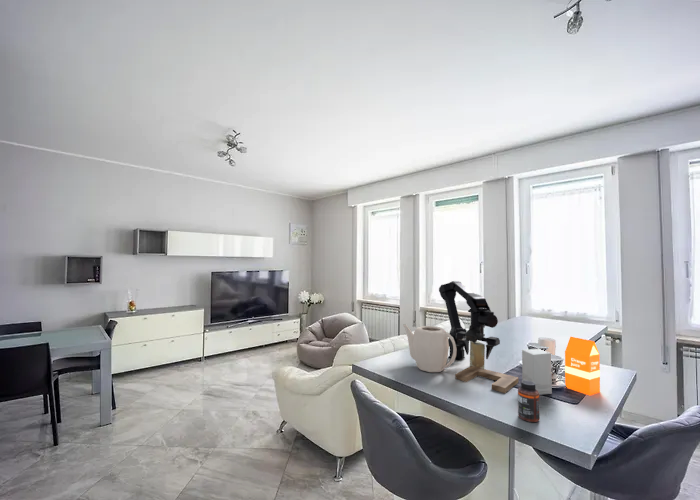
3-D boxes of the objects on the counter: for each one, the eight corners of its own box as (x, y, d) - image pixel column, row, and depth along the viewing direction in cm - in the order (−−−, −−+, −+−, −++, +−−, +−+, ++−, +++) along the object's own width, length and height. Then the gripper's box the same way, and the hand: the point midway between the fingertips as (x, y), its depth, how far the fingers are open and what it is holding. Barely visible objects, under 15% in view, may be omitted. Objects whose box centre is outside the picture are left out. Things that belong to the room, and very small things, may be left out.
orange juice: (589, 395, 118) (589, 342, 119) (564, 387, 126) (564, 337, 126) (600, 392, 121) (599, 340, 122) (575, 384, 129) (575, 335, 130)
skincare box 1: (469, 366, 149) (469, 340, 149) (478, 366, 149) (478, 340, 150) (475, 371, 143) (476, 344, 143) (485, 371, 143) (485, 344, 143)
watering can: (410, 358, 160) (410, 321, 160) (462, 370, 143) (462, 329, 144) (394, 366, 147) (394, 325, 148) (449, 380, 131) (449, 334, 131)
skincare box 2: (539, 387, 124) (539, 348, 125) (553, 394, 118) (553, 353, 119) (521, 388, 123) (521, 349, 124) (533, 395, 117) (533, 353, 117)
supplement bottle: (537, 415, 101) (537, 380, 102) (541, 424, 95) (541, 387, 96) (516, 412, 103) (516, 377, 103) (519, 421, 97) (519, 384, 98)
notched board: (455, 378, 132) (455, 374, 132) (471, 370, 144) (471, 365, 144) (505, 393, 118) (505, 388, 118) (518, 382, 130) (518, 377, 130)
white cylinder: (550, 369, 146) (550, 337, 147) (558, 375, 140) (558, 341, 140) (535, 369, 147) (535, 337, 148) (543, 374, 140) (542, 340, 141)
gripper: (450, 322, 148) (450, 355, 147) (491, 328, 134) (490, 365, 134) (461, 319, 156) (460, 351, 155) (500, 325, 142) (500, 360, 142)
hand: (477, 356), depth 146 cm, fingers open, 9 cm apart
